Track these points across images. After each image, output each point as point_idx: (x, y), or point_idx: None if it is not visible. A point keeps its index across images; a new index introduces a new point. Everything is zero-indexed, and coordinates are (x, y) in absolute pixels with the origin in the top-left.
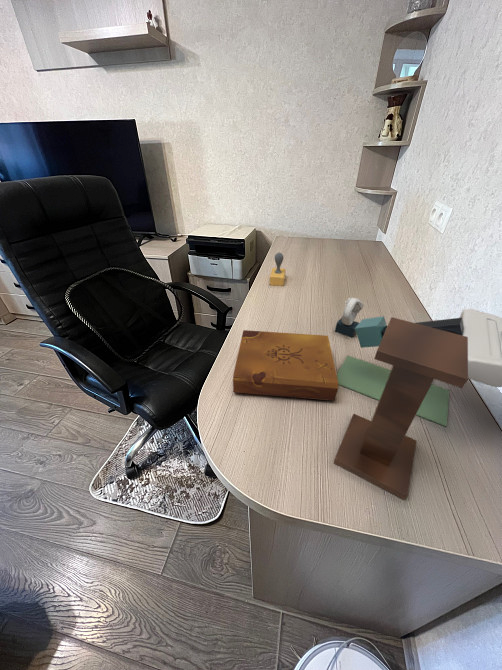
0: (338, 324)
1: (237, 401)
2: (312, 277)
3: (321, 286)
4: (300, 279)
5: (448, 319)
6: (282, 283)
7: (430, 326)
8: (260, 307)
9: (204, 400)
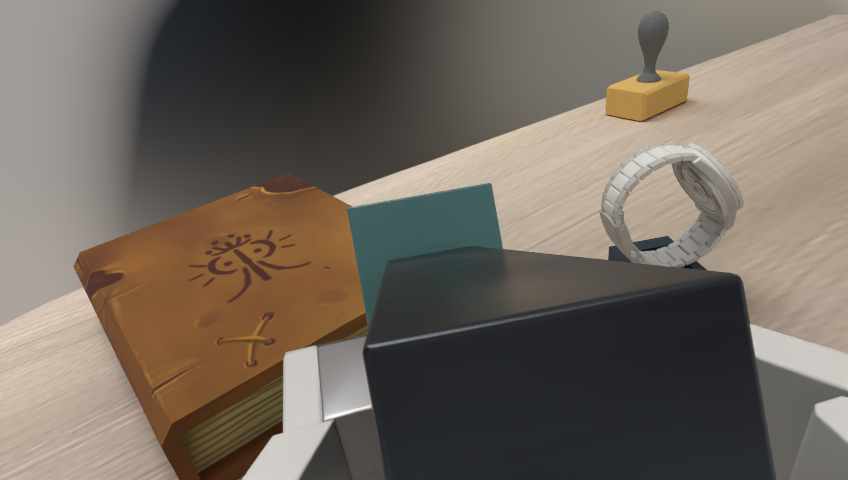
0: (613, 254)
1: (81, 333)
2: (787, 115)
3: (783, 143)
4: (730, 114)
5: (602, 264)
6: (639, 113)
7: (394, 282)
8: (491, 157)
9: (60, 298)
